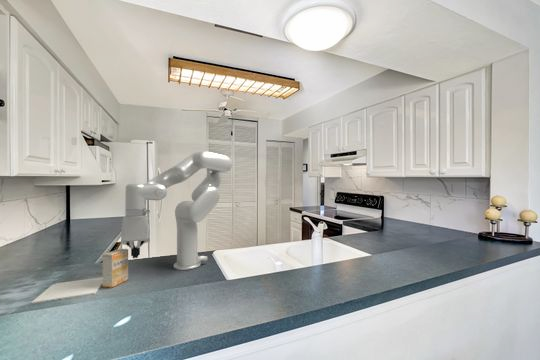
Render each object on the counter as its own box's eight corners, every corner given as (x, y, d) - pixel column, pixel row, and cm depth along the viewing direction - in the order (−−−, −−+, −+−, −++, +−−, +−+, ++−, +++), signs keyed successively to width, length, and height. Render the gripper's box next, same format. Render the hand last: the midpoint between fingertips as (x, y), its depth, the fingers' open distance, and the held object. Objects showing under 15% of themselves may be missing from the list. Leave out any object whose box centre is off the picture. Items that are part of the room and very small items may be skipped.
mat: (106, 278, 102) (106, 276, 102) (95, 294, 87) (95, 292, 87) (53, 285, 95) (53, 283, 95) (31, 304, 80) (31, 302, 80)
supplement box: (112, 288, 92) (112, 254, 92) (101, 287, 93) (101, 253, 93) (129, 279, 100) (128, 248, 100) (119, 278, 101) (119, 248, 101)
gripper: (156, 211, 106) (155, 252, 105) (116, 213, 100) (116, 256, 100) (154, 213, 99) (154, 257, 98) (112, 215, 93) (112, 262, 93)
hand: (135, 257), depth 99 cm, fingers closed
